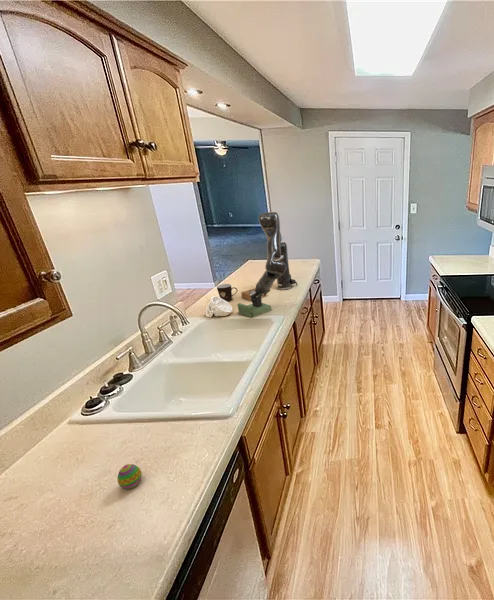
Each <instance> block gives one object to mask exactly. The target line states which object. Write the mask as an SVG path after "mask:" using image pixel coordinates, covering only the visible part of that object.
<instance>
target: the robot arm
mask: <svg viewBox="0 0 494 600" xmlns="http://www.w3.org/2000/svg"><path fill="white" fill-rule="evenodd" d="M258 223H259V225H260V227H261V230H262V231H263V232H264V235H265V238H266V240H267V243H266V253H267V256H266V257H267V258H266V262H265V265H264V266H265V267H264V268H265V271H264V273H263V274H262V275H261V277H260V278H259V279H258V281H257V282H256V284H255V288H256V290H254V292H253V293H251V292H250V293H249V297H250V298H251V301H250V302H251V303H252V302H254V301H255V299H256V298H258V297H259V296H260V295H261V298H263V297H262V296H264V297H266V296H265V295H267V294H268V293H269V292H271V288H272V287H273V285H274V283H275V281H276V283H277V289H278V290H280V291H281V290H282V291H285V290H290V289H291V288H293V285H296V286H298V282H297V281H296V279H293V278H292V274H290V273H291V272H290V265H289V264H290V263H289V255H288V254H289V253H288V244H287V242H284V241H282V240H283V237H282V232H281V220H280V216H279V213H278V212H277V211H271V212H270V211H268V212H261V213H260V214H259V216H258Z"/></svg>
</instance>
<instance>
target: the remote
mask: <svg viewBox="0 0 494 600" xmlns="http://www.w3.org/2000/svg"><path fill="white" fill-rule="evenodd" d="M253 292H254V291H252V292H251V293H253ZM262 303H263V302H262V297H261V295H260V296H259V297H258V298H256V299H255V301H254V302H251V304H253V306H255V307H261V306H262Z"/></svg>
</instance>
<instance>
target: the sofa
mask: <svg viewBox="0 0 494 600" xmlns="http://www.w3.org/2000/svg"><path fill="white" fill-rule="evenodd" d="M236 305H237V311H238V314H239V315H243V316H246V317H248V318H255V317H257V316H259V315H262V314H265V313H268V312H270V311H272V305H271V304H267V303H264V302H262V306H261V307H255V306H253V304H252V303H250V304H243V303H240V302H239V303H237V304H236Z"/></svg>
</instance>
